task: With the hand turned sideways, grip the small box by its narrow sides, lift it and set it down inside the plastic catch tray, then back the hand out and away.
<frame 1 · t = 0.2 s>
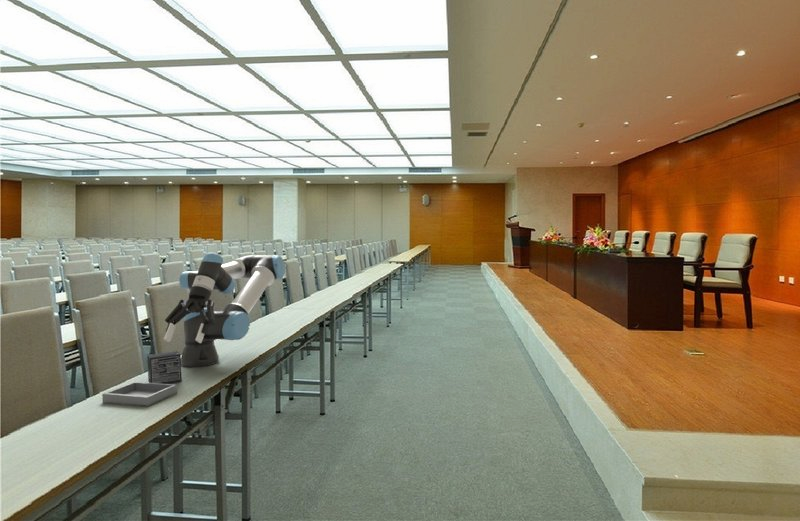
hand: (182, 341, 184), 16 cm above the table, tool tilted 35°, fingers open, 13 cm apart
small box: (165, 382, 187), on the table
catch tray: (140, 398, 169), on the table
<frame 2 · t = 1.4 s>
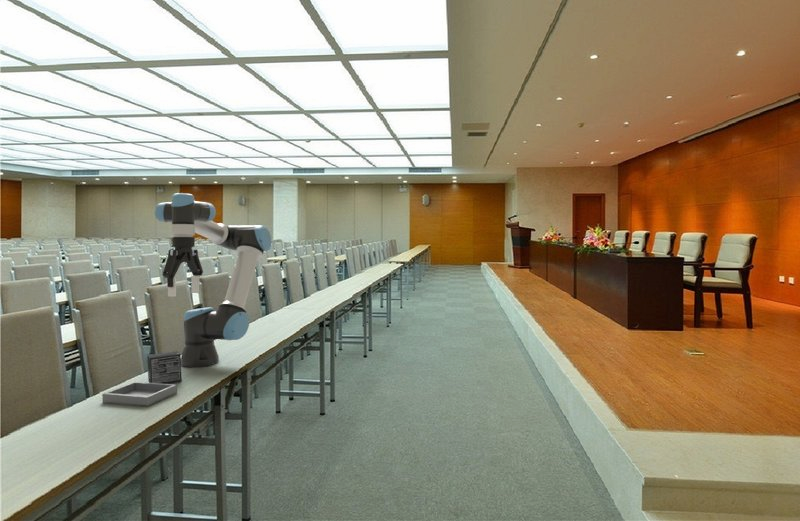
hand: (184, 294, 185), 32 cm above the table, tool pointing down, fingers open, 13 cm apart
nothing on the table moved.
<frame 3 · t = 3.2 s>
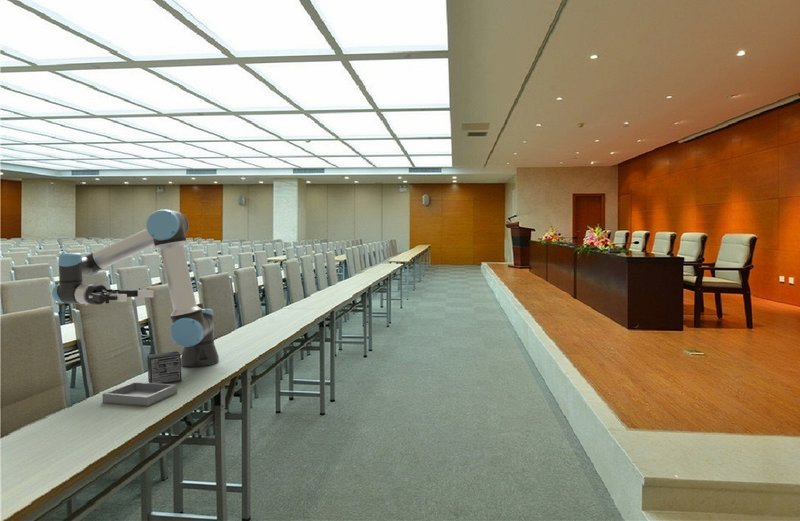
hand: (140, 295, 188), 32 cm above the table, tool horizontal, fingers open, 13 cm apart
nothing on the table moved.
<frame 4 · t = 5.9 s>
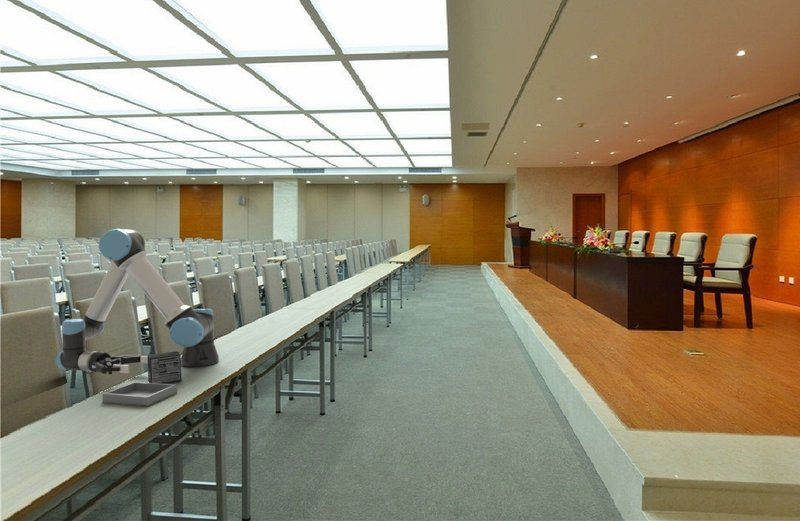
hand: (142, 364, 189), 6 cm above the table, tool horizontal, fingers open, 13 cm apart
nothing on the table moved.
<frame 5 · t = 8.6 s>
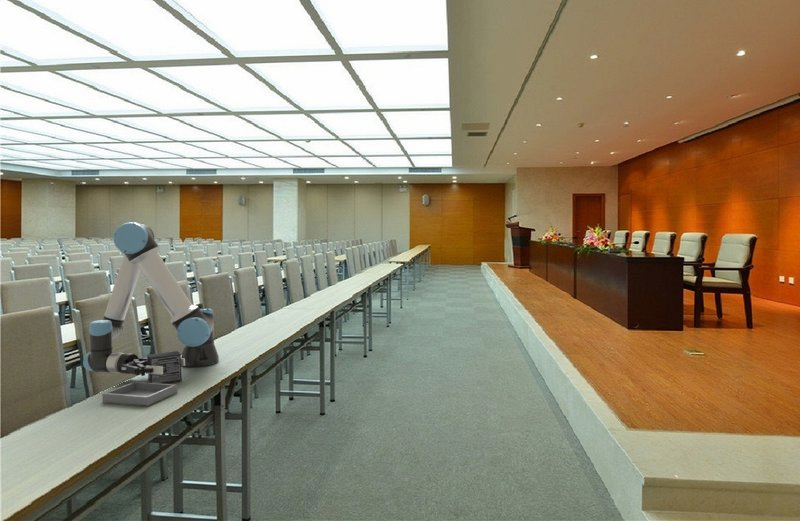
hand: (173, 366, 186), 6 cm above the table, tool horizontal, fingers closed on small box, 11 cm apart
small box: (165, 382, 187), on the table, touching gripper
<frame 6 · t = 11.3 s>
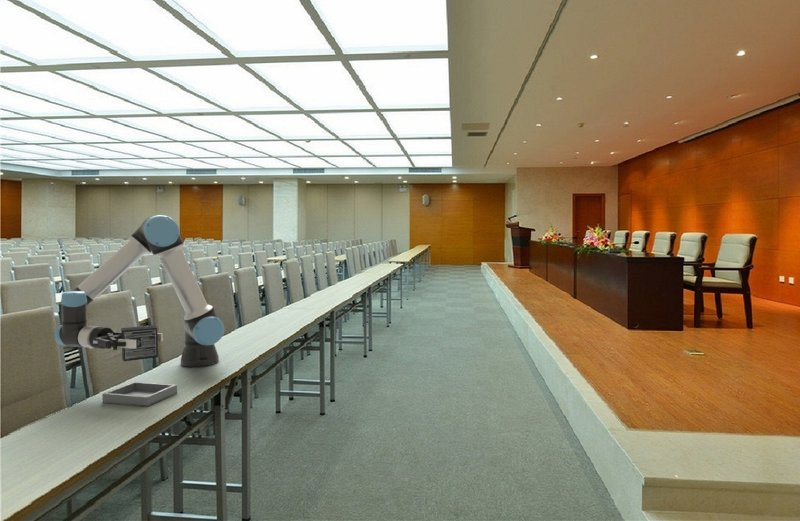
hand: (149, 340, 171), 18 cm above the table, tool horizontal, fingers closed on small box, 11 cm apart
small box: (140, 358, 173), point 12 cm above the table, touching gripper
when the fingers open (8 cm above the table, at t = 14.2 s): small box drops 1 cm, resting on catch tray.
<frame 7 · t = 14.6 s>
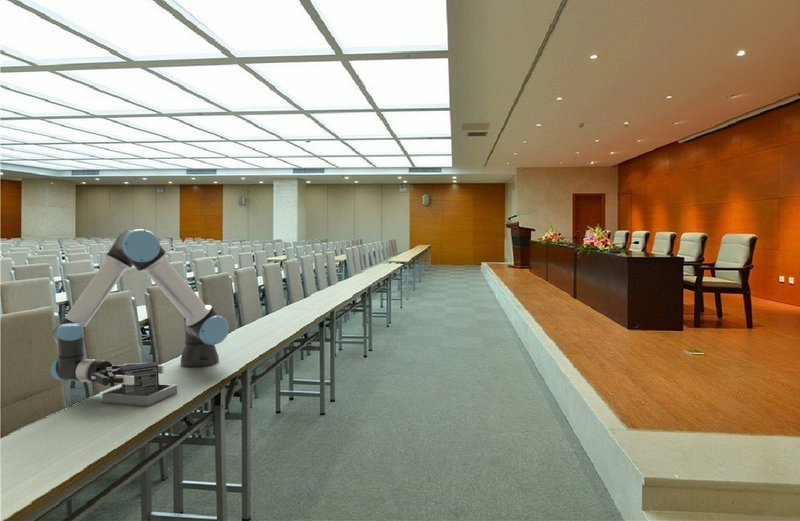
hand: (148, 374, 168), 8 cm above the table, tool horizontal, fingers open, 13 cm apart
small box: (140, 397, 169), resting on catch tray
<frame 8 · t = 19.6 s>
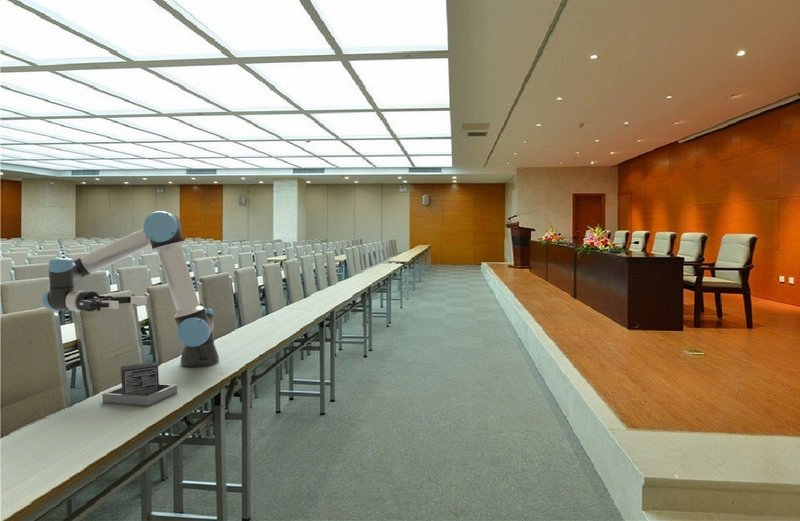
hand: (132, 302, 182), 30 cm above the table, tool horizontal, fingers open, 13 cm apart
nothing on the table moved.
at the end: small box inside the target area on the catch tray (0.2 cm from its centre), point 0.3 cm above the catch tray's base; small box tilted 0°; the gripper is holding nothing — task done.
